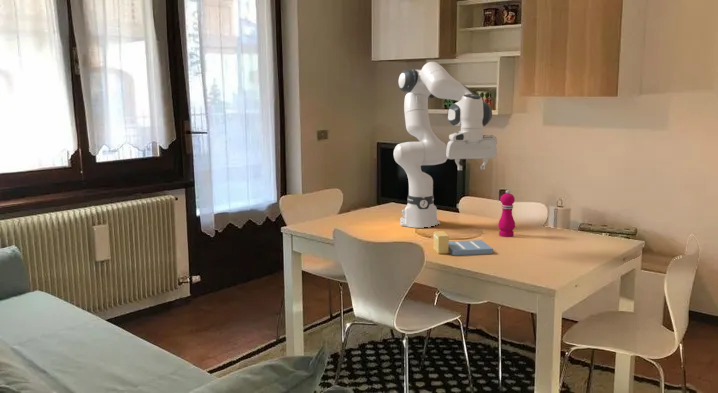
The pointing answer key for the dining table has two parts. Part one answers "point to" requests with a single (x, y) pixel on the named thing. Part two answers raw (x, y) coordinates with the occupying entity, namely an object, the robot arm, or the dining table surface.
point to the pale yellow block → (440, 242)
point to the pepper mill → (506, 215)
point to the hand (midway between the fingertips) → (471, 169)
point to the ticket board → (469, 247)
